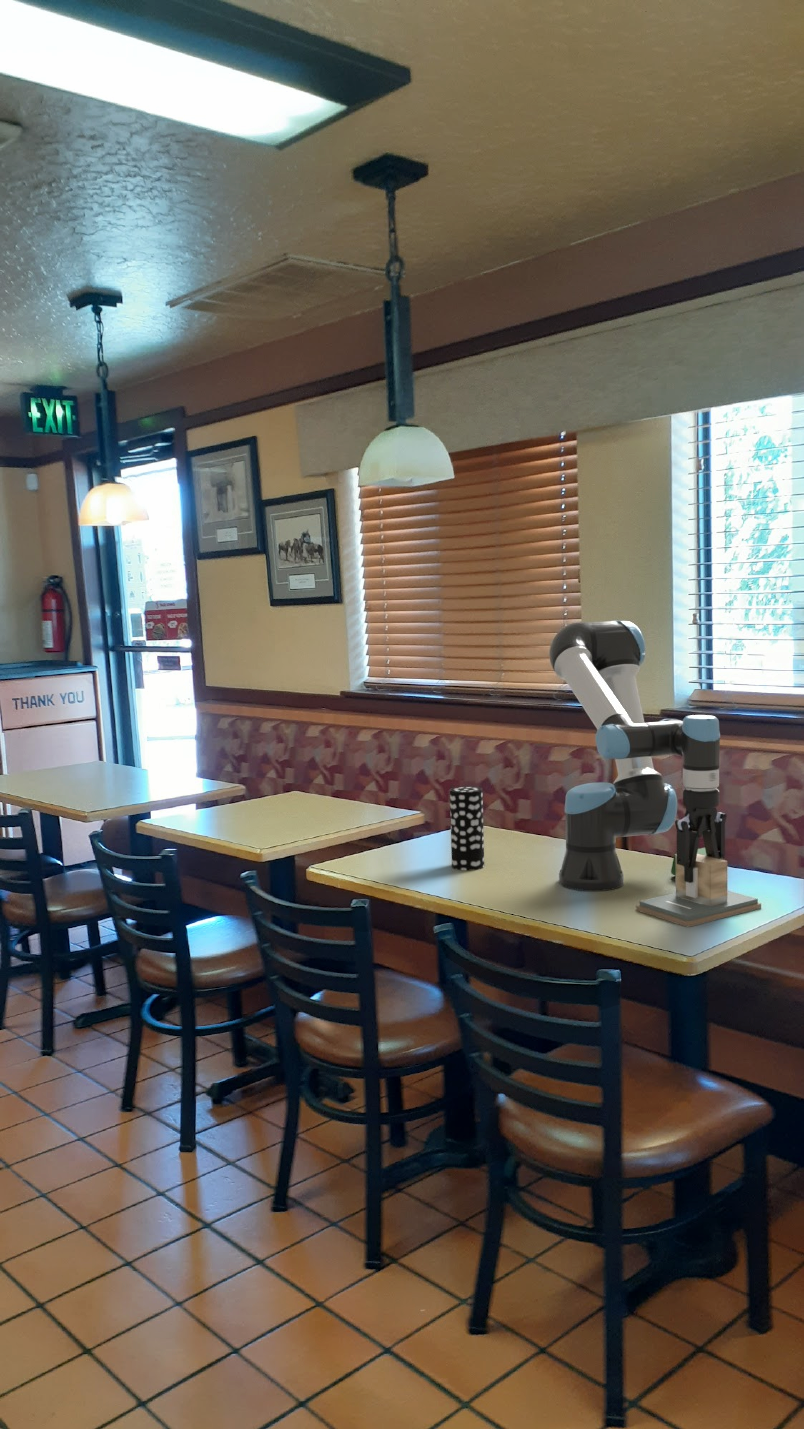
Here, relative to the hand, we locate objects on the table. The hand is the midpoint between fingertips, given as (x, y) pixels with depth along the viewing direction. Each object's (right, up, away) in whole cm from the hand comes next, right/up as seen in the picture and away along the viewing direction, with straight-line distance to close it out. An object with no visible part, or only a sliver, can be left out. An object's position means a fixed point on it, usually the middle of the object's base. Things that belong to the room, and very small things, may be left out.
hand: (701, 893), depth 231 cm
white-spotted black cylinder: (-48, 0, +42) cm, 64 cm away
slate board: (-1, -3, 0) cm, 3 cm away
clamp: (+7, 0, +26) cm, 27 cm away
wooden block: (0, -1, 0) cm, 1 cm away
